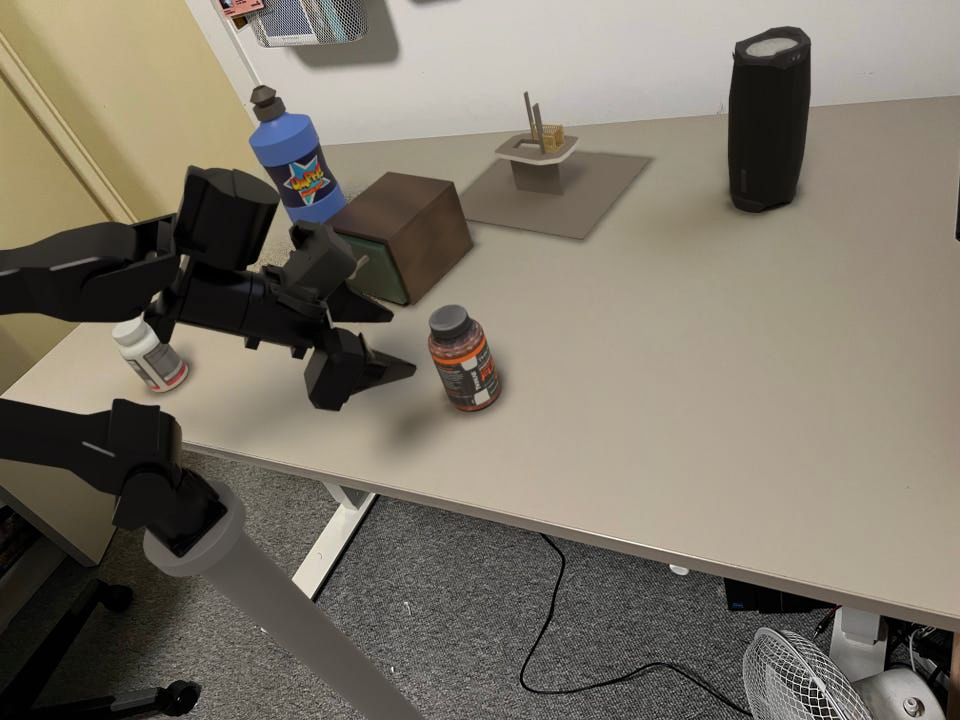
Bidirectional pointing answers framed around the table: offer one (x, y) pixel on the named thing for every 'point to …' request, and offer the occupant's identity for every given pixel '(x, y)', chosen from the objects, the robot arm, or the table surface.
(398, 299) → the drawer
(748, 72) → the portable speaker
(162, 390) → the pill bottle
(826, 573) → the table surface
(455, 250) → the cabinet
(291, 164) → the water bottle
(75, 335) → the table surface
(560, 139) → the architectural model
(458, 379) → the supplement bottle
